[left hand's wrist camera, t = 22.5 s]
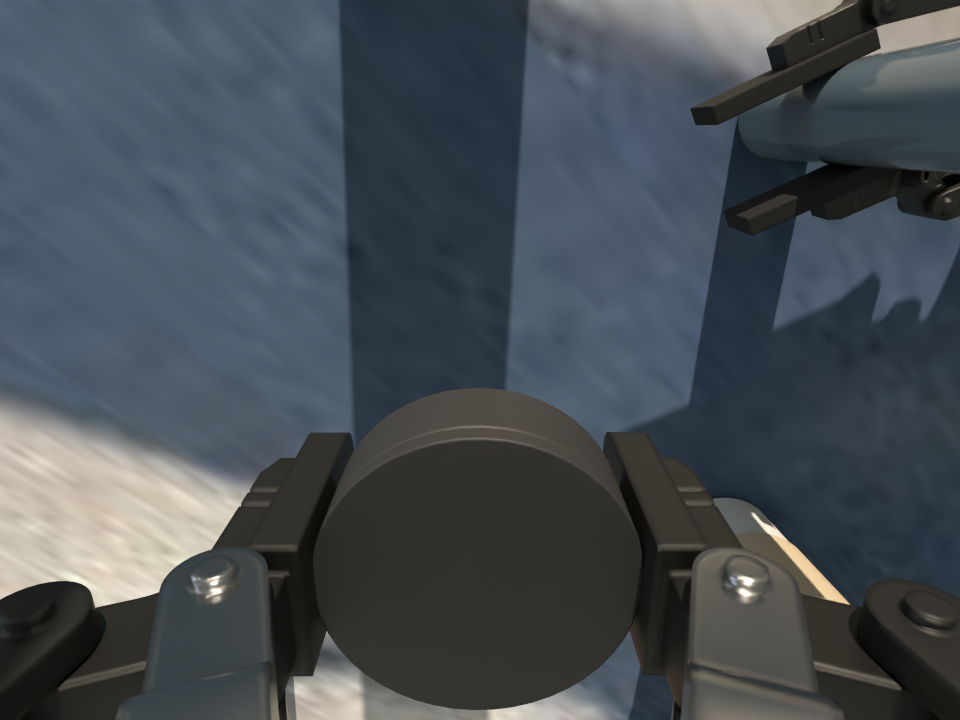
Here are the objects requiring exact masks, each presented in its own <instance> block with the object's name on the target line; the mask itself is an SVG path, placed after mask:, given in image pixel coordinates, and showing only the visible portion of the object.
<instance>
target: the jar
mask: <svg viewBox="0 0 960 720" xmlns="http://www.w3.org/2000/svg"><path fill="white" fill-rule="evenodd" d="M738 126H739V133H740V136H741V139H742V141H743V143H744V144H745V146H746V147H747V148H748V149H749V150H750V151H751V152H752V153H753V154H755V155H757V156H759V157H762V158H766V159H776V160H789V161H802V162H814V163H827V164H840V165H852V166H865V167H877V168H890V169H903V170H915V171H928V172H941V173H953V174H960V37H959V38H954V39H949V40H944V41H939V42H934V43H929V44H924V45H919V46H914V47H909V48H904V49H899V50H894V51H889V52H884V53H879V54H874V55H869V56H864V57H861V58H859V59H857V60H855V61H852V62H850V63H848V64H846V65H844V66H842V67H840V68H838V69H835V70H833V71H831V72H829V73H827V74H825V75H823V76H820V77H818V78H816V79H814V80H812V81H810V82H808V83H806V84H803V85H801V86H799V87H797V88H795V89H793V90H791V91H789V92H786V93H784V94H782V95H780V96H778V97H776V98H774V99H772V100H769V101H767V102H765V103H763V104H761V105H759V106H757V107H754V108H752V109H750V110H748V111H746V112H744V113H742V114H740V115H739V120H738Z"/></svg>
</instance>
